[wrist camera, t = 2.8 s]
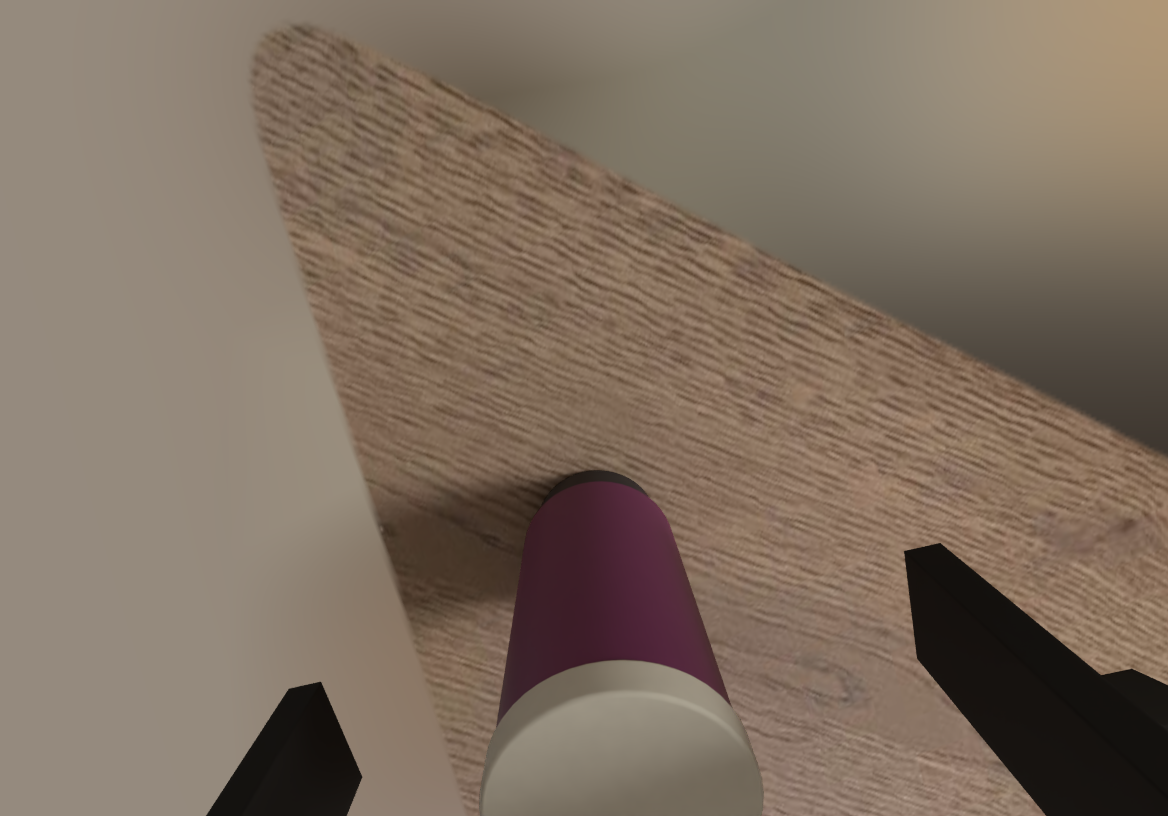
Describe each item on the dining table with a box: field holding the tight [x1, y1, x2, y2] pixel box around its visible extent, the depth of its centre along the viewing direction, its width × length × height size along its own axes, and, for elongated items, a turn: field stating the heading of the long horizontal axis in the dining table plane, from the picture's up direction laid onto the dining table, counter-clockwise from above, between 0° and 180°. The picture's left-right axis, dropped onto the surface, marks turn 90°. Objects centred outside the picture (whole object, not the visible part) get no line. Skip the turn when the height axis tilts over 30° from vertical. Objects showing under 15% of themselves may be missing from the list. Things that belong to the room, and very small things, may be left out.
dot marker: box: [479, 470, 764, 816], centre depth 14 cm, size 5×5×10 cm
